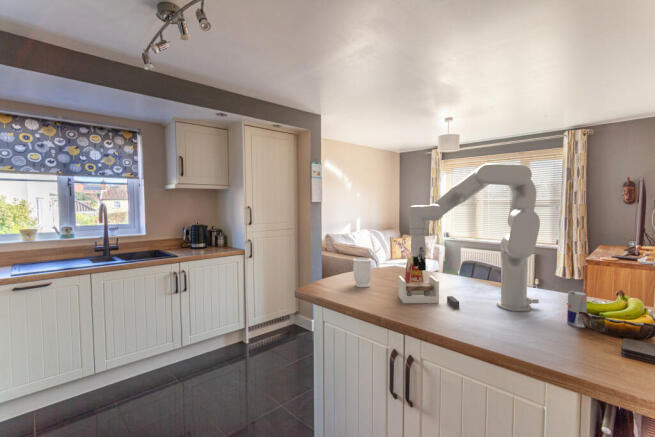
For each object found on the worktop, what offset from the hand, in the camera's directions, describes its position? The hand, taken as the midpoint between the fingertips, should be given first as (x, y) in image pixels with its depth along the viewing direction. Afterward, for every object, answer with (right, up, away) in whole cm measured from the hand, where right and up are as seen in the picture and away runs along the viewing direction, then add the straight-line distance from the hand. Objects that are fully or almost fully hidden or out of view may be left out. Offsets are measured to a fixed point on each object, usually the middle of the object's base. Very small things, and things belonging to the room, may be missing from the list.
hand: (419, 268), depth 144 cm
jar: (-23, -14, +27) cm, 38 cm away
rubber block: (+12, -15, -9) cm, 21 cm away
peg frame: (0, -15, +1) cm, 15 cm away
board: (0, -10, +1) cm, 10 cm away
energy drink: (+48, -16, -32) cm, 60 cm away
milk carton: (+3, -14, +20) cm, 25 cm away
